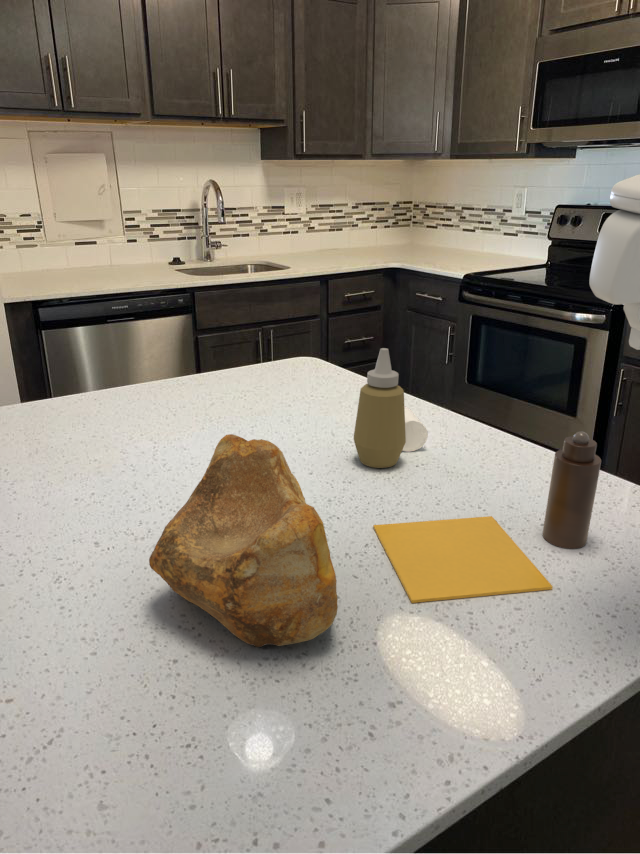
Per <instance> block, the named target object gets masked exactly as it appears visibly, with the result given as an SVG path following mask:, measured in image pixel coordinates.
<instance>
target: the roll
mask: <svg viewBox="0 0 640 854" xmlns="http://www.w3.org/2000/svg"><path fill="white" fill-rule="evenodd" d="M404 408H405V435H406V443H405V445H404V447H403V450H402V452H407V453H409V452H414V451H417V450H419V449H421V448H422V447H423V446H425V444H426V443H427V441H428V437H429V433H428V429H427V427H426V426H425V424H424V423H423V422H422V421H421V419H419V418H418V416H417V415H416V413H415V412H414V411H413V410H412V409H410V407H408V406H405V405H404Z"/></svg>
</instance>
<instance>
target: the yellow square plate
mask: <svg viewBox="0 0 640 854" xmlns="http://www.w3.org/2000/svg"><path fill="white" fill-rule="evenodd" d="M372 528H373V530H374V532H375V534H376V536H377V538H378V540H379V543H380V544H381V546H382V548H383V550H384V552H385V554H386V556H387V558H388V560H389V561H390V563H391V566H392V567H393V568H392V569H394V572H395V573H396V576H397V578H398V580H399V581H400V583H401V586H402V587H403V589H404V591H405V593H406V595H407V598H408V599H409V602H410V603H411V604H417V603H428V602H437V601H447V600H457V599H468V598H479V597H488V596H498V595H509V594H520V593H529V592H539V591H549V590H550V591H551V590H553V584H551V583H550V581H549V580H548V579H547V578H546V577H545V575H543V574H542V572H541V571H540V570H539V569H538V568H537V566H536V565H535V564H534V563H533V562H532V561H531V560H530V558H529V557H528V556H527V555H526V554H525V553H524V552H523V550H522V549H521V548H520V547H519V546H518V545H517V543H516V542H515V541H514V540H513V539H512V537H511V536H510V535H509V534H508V532H506V531H505V529H504V528H503V527H502V526H501V525H500V523H499V522H497V520H496V519H495V518H494V517H493V516H492V515H487V516H475V517H462V518H449V519H438V520H437V519H436V520H423V521H422V520H421V521H411V522H400V523H399V522H397V523H384V524H373V526H372Z"/></svg>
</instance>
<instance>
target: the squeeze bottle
mask: <svg viewBox="0 0 640 854" xmlns="http://www.w3.org/2000/svg"><path fill="white" fill-rule="evenodd" d="M390 357H391V356H390V351H389V348H386V347H382V348H379V353H378V356H377V360H376V363H375V366H374V367H375V368H374V369H371V370H368V371H367V375H366V382H367V383H366V384H364V385H363V386H362V387H360V390H359V398H358V405H357V412H356V417H355V425H354V431H353V443H354V446H355V449H356V452H357V456H358V458H359V462H360V463H361V464H363V465H364V466H366V467H369V468H375V469H385V468H391V467H393V466H395V465H397V463H398V461H399V459H400V457H401V455H402V452H403V451H402V450H403V447H404V445H405V443H406V435H405V408H404V406H405V390H404V388H403V387H401V386H400V385H399V379H400V378H399V375H400V374H399V372H397V371H395V370H392V364H391V358H390Z"/></svg>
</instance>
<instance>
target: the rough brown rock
mask: <svg viewBox="0 0 640 854" xmlns="http://www.w3.org/2000/svg"><path fill="white" fill-rule="evenodd" d="M148 562H149V564H148V565H149V567H150V569H151V570H152V571H153V572H155V573H156V574H157V575H159V576H160V578H161V579H162V581H164V582H165V583H166V584H167V585H168V586H169V587H170V589H171V590H172V591H173V592H174V593H176V594H177V595H179V596H180V597H182V598H183V599H184V600H186V601H188V602H189V603H191V604H193V605H195V606H197V607H199V608H200V609H201V610H203V611H204V612H206V613H207V614H209V615H210V616H211V617H213V618H214V619H215V620H216V621H218V622H219V623H220V624H221V625H222V626H223V627H225V628H226V629H227V630H228V631H229V632H230V633H231V634H232V635H234V636H235V637H236V638H238V639H239V640H241V641H242V642H244V643H246V644H248V645H250V646H254V647H256V648H260V647H263V646H265V645H273V646H277V647H282V646H288V645H294V644H299V643H302V642H307V641H312V640H313V639H315V638H316V637H318V636H319V635H321V634H323V633H325V632H326V631H327V630H328V629H330V627H331V626H332V625H333V623H334V621H335V619H336V617H337V614H338V601H339V600H338V599H339V598H338V593H337V576H336V572H335V567H334V565H333V564H334V563H333V561H332V558H331V551H330V547H329V543H328V539H327V535H326V530H325V525H324V521H323V520H322V518H321V516H320V515H319V514H318V512H317V510H316V508H315V507H314V506H312V505H310V504H308V503H307V502H306V498H305V496H304V493H303V490H302V487H301V485H300V482H299V481H298V479H297V478H296V476H295V475H294V473H292V471H291V469H290V466H289V464H288V462H287V460H286V458H285V455H284V453H283V451H282V450H281V449H280V448H279V446H278V445H276V444H275V443H273V442H272V441H270V440H265V439H263V438H262V439H255V438H254V439H250V440H247V439H246V438H243V437H241V436H239V435H236V434H234V433H233V434H232V433H231V434H230V433H229V434H226V435H224V436H223V437H221V438H220V440H219V441H218V443H217V444H216V447H215V448H214V451H213V454H212V457H211V459H210V461H209V464H208V466H207V468H206V470H205V472H204V474H203V476H202V478H201V479H200V481H199V482H198V483H197V485H196V486H195V488H194V490H193V491H192V492H191V494H190V496H189V498H188V499H187V501H186V502H185V503H184V505H183V506H182V507H181V508H180V509H179V510H177V512H176V513H175V515H174V516H173V517H172V518H171V520H170V521H169V522H167V524H166V525H165V527H164V528H163V531H162V533H161V535H160V537H159V538H158V540H157V542H156V544H155V546H154V547H153V550H152V552H151V554H150V556H149V559H148Z"/></svg>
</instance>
